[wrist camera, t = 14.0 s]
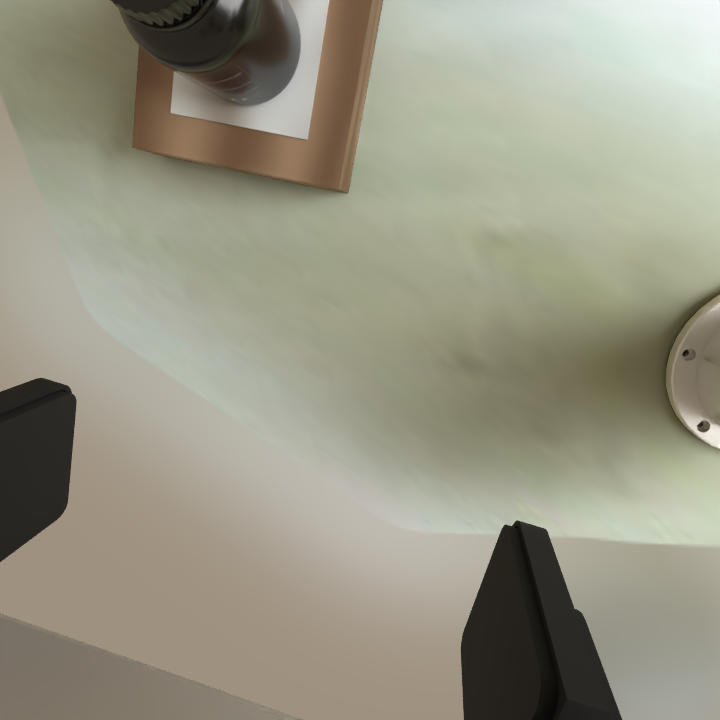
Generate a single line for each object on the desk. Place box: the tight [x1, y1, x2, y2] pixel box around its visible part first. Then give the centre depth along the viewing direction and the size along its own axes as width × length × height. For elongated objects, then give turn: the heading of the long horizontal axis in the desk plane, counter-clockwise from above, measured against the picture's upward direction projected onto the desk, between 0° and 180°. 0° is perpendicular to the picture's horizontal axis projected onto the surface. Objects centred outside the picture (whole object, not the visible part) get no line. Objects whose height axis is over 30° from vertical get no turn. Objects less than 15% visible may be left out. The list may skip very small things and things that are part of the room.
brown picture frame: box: [133, 0, 383, 193], centre depth 33 cm, size 14×14×4 cm
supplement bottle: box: [111, 0, 301, 106], centre depth 25 cm, size 7×7×12 cm
